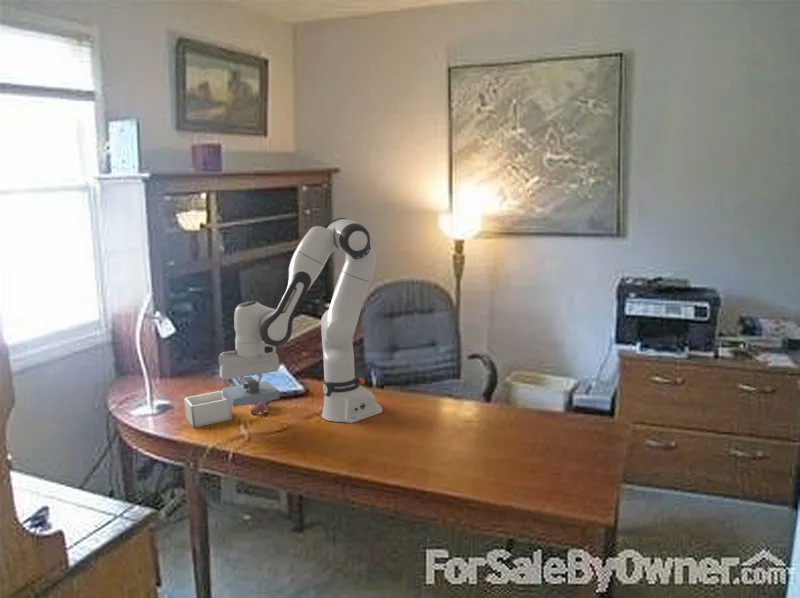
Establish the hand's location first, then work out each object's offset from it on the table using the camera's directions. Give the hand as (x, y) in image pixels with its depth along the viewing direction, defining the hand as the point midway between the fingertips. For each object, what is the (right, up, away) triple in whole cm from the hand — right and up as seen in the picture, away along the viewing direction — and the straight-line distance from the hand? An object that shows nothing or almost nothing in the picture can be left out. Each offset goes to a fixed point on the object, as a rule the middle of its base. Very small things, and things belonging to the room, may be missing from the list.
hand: (250, 387), depth 220 cm
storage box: (-18, -14, +14) cm, 27 cm away
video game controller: (0, -12, +21) cm, 24 cm away
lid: (0, -3, +1) cm, 3 cm away
